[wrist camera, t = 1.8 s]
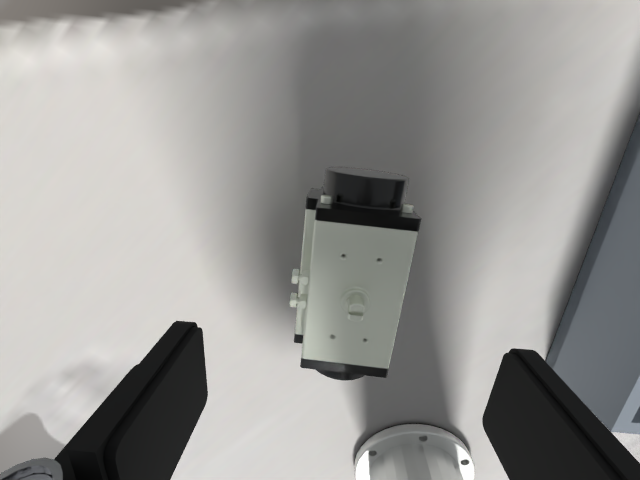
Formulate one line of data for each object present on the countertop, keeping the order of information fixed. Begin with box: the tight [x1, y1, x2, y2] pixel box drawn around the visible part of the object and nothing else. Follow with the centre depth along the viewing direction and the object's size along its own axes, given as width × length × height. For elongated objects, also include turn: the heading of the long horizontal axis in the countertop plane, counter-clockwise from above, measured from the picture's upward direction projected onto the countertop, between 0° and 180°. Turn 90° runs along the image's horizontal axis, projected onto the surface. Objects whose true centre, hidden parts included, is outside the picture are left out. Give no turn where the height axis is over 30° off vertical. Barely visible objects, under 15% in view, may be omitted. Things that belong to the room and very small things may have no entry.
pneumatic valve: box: [290, 167, 421, 380], centre depth 19 cm, size 6×12×12 cm, turn 174°
